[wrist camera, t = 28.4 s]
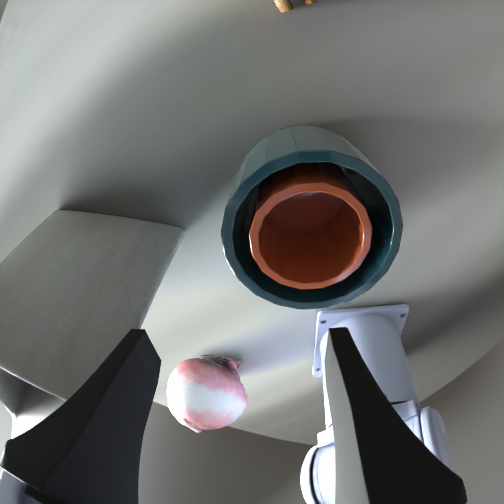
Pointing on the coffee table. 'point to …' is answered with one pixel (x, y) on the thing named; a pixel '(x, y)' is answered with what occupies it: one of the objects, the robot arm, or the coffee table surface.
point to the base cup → (364, 183)
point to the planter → (73, 303)
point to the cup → (309, 226)
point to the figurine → (289, 4)
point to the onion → (206, 393)
